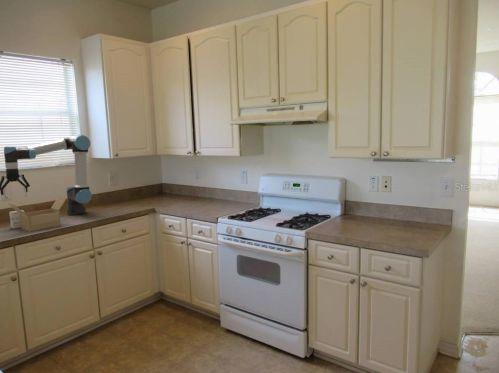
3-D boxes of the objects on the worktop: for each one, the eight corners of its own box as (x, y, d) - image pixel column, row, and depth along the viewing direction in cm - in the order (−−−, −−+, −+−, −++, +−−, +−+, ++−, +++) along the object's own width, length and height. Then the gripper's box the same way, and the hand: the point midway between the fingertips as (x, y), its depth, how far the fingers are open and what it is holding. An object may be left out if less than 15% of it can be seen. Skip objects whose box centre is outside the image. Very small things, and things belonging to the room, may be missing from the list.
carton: (51, 222, 287) (50, 208, 286) (61, 226, 276) (60, 211, 274) (20, 228, 272) (18, 213, 270) (29, 232, 260) (27, 217, 259)
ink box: (23, 225, 280) (22, 209, 279) (26, 226, 277) (24, 210, 276) (10, 227, 274) (8, 211, 272) (13, 228, 271) (11, 212, 269)
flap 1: (20, 213, 269) (8, 203, 263) (26, 215, 260) (15, 205, 254) (19, 213, 268) (8, 203, 263) (26, 216, 260) (14, 206, 254)
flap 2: (51, 208, 284) (58, 196, 288) (58, 210, 276) (66, 198, 279) (50, 208, 284) (58, 196, 287) (58, 210, 276) (65, 198, 279)
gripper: (29, 166, 281) (32, 195, 284) (-11, 169, 262) (-7, 200, 265) (33, 167, 276) (35, 196, 279) (-7, 170, 257) (-4, 201, 261)
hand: (15, 198), depth 272 cm, fingers open, 13 cm apart
